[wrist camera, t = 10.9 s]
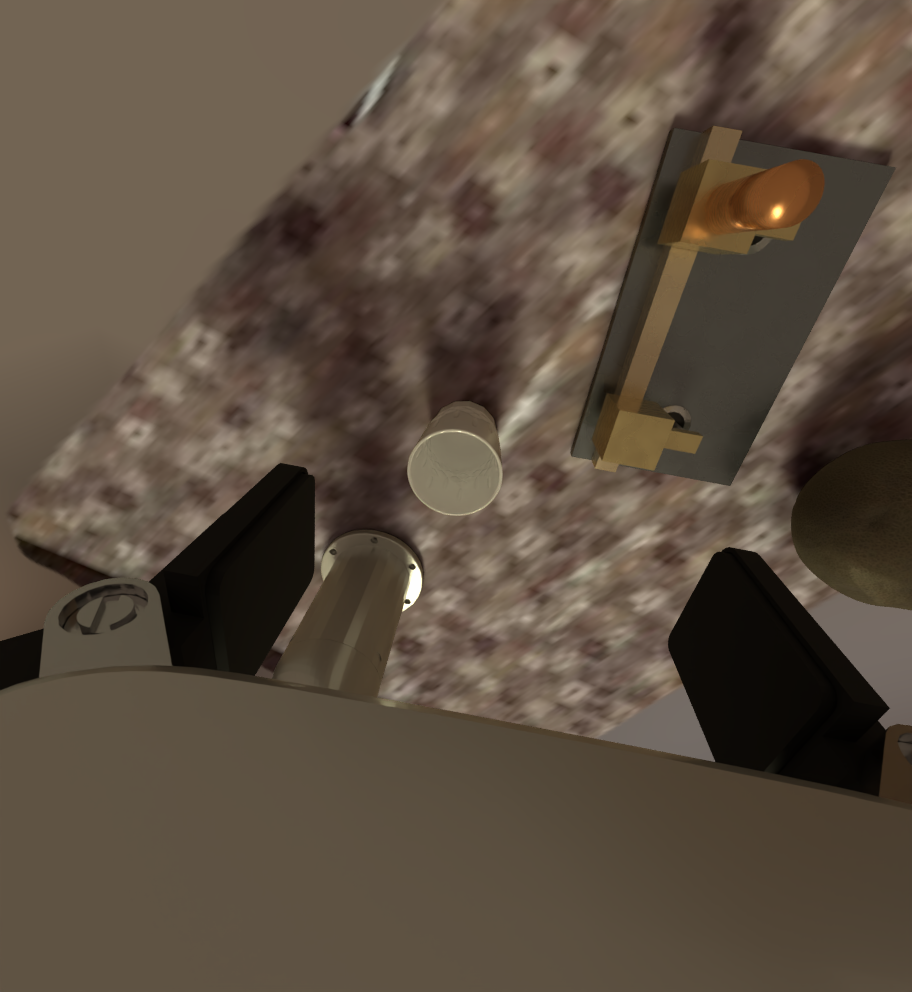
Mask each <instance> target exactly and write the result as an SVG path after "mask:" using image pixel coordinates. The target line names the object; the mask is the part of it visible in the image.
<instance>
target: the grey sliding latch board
mask: <svg viewBox="0 0 912 992" xmlns="http://www.w3.org/2000/svg"><path fill="white" fill-rule="evenodd" d="M741 134H742V131H741V130H735V129H730V128H724V127H718V126H712V127H710V128H709V129H707V130H706V131H704V132H702V133H700V132H695V131H689V130H684V129H678V128H674V129H672V130H671V131H670V132H669V136H668V139H667V142H666V145H665V149H664V152H663V155H662V158H661V162H660V165H659V168H658V171H657V174H656V178H655V181H654V184H653V187H652V191H651V194H650V197H649V200H648V204H647V207H646V210H645V213H644V216H643V220H642V223H641V226H640V229H639V233H638V236H637V239H636V242H635V246H634V249H633V252H632V255H631V258H630V262H629V265H628V268H627V271H626V275H625V278H624V281H623V284H622V288H621V291H620V294H619V297H618V300H617V304H616V307H615V310H614V313H613V317H612V320H611V323H610V326H609V330H608V333H607V336H606V339H605V342H604V346H603V349H602V352H601V355H600V359H599V362H598V365H597V368H596V372H595V375H594V378H593V381H592V384H591V388H590V391H589V394H588V397H587V401H586V404H585V407H584V410H583V414H582V417H581V420H580V423H579V426H578V430H577V433H576V436H575V439H574V443H573V446H572V449H571V452H570V453H571V456H572V457H578V458H583V459H588V460H592V462H593V465H594V467H595V469H601V470H606V471H611V472H616V470H617V467H618V465H621V466H626V467H631V468H637V469H642V470H647V471H653V472H658V473H664V474H669V475H674V476H680V477H685V478H690V479H696V480H701V481H707V482H712V483H717V484H723V485H728V486H730V485H731V483H732V482H733V480H734V478H735V476H736V474H737V472H738V470H739V468H740V466H741V464H742V462H743V460H744V458H745V457H746V455H747V453H748V451H749V449H750V447H751V445H752V443H753V441H754V439H755V437H756V435H757V433H758V432H759V430H760V428H761V426H762V424H763V422H764V420H765V418H766V416H767V414H768V412H769V410H770V408H771V407H772V405H773V403H774V401H775V399H776V397H777V395H778V393H779V391H780V389H781V387H782V385H783V384H784V382H785V380H786V378H787V376H788V374H789V372H790V370H791V368H792V366H793V364H794V362H795V360H796V359H797V357H798V355H799V353H800V351H801V349H802V347H803V345H804V343H805V341H806V339H807V337H808V335H809V334H810V332H811V330H812V328H813V326H814V324H815V322H816V320H817V318H818V316H819V314H820V312H821V310H822V309H823V307H824V305H825V303H826V301H827V299H828V297H829V295H830V293H831V291H832V289H833V287H834V286H835V284H836V282H837V280H838V278H839V276H840V274H841V272H842V270H843V268H844V266H845V264H846V262H847V261H848V259H849V257H850V255H851V253H852V251H853V249H854V247H855V245H856V243H857V241H858V239H859V237H860V236H861V234H862V232H863V230H864V228H865V226H866V224H867V222H868V220H869V218H870V216H871V214H872V212H873V211H874V209H875V207H876V205H877V203H878V201H879V199H880V197H881V195H882V193H883V191H884V189H885V188H886V186H887V184H888V182H889V180H890V178H891V176H892V174H893V172H894V170H895V167H890V166H884V165H879V164H873V163H867V162H862V161H856V160H851V159H845V158H840V157H834V156H828V155H823V154H817V153H812V152H806V151H801V150H795V149H789V148H784V147H778V146H773V145H767V144H762V143H756V142H750V141H745V140H739V139H740V137H741ZM708 159H712V160H718V161H723V162H729V163H734V164H740V165H746V166H751V167H757V168H762V169H771V168H774V167H777V166H780V165H783V164H786V163H789V162H792V161H795V160H799V159H806V160H811V161H813V162H815V163H816V164H818V165H819V167H820V168H821V169H822V171H823V174H824V180H825V185H824V191H823V195H822V197H821V200H820V202H819V204H818V205H817V207H816V208H815V210H814V211H813V212H812V213H811V214H810V215H809V216H808V217H807V218H806V219H805V220H803V221H802V222H801V224H800V226H799V229H798V231H797V233H796V235H795V237H794V239H793V241H782V240H776V239H771V238H765V237H760V236H754V239H753V241H752V243H751V246H750V248H749V251H748V253H747V254H710V253H705V252H699V251H694V250H688V249H683V248H677V247H672V246H666V245H661V244H657V243H658V240H659V237H660V234H661V231H662V228H663V225H664V221H665V218H666V215H667V212H668V209H669V206H670V203H671V200H672V197H673V194H674V191H675V188H676V185H677V182H678V179H679V176H680V173H681V172H683V171H685V170H687V169H689V168H691V167H694V166H696V165H698V164H700V163H702V162H704V161H706V160H708Z"/></svg>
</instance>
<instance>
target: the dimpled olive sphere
mask: <svg viewBox="0 0 912 992" xmlns="http://www.w3.org/2000/svg"><path fill="white" fill-rule="evenodd" d="M791 532H792V539H793V543H794V546H795V549H796V551H797V554H798V555H799V557H800V559H801V560H802V562H803V563H804V564H805V565H806V566H807V568H808V569H809V570H810V571H811V572H812V573H813V574H815V575H816V576H817V577H818V578H819V579H821V580H822V581H823V582H825V583H826V584H827V585H829V586H830V587H831V588H833V589H835V590H837V591H838V592H840V593H842V594H844V595H846V596H848V597H850V598H852V599H855V600H857V601H860V602H863V603H867V604H870V605H876V606H884V607H895V608H901V609H907V610H912V440H893V441H886V442H877V443H871V444H868V445H864V446H861V447H858V448H856V449H854V450H851V451H849V452H847V453H845V454H843V455H842V456H840V457H839V458H837V459H835V460H834V461H832V462H830V463H829V464H827V465H826V466H824V467H823V468H822V469H821V470H820V471H819V472H817V473H816V474H815V475H814V476H813V477H812V478H811V479H810V480H809V481H808V482H807V483H806V485H805V486H804V487H803V489H802V490H801V492H800V494H799V495H798V497H797V500H796V502H795V505H794V507H793V510H792V517H791Z"/></svg>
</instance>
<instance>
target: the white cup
mask: <svg viewBox="0 0 912 992" xmlns="http://www.w3.org/2000/svg"><path fill="white" fill-rule="evenodd" d="M407 474H408V480H409V483H410V486H411V488H412V490H413V492H414V493H415V495H416V496H417V497H418V498H419V500H420V501H421V502H423V503H424V504H425V505H426V506H428V507H429V508H431V509H433V510H435V511H437V512H440V513H443V514H447V515H467V514H471V513H474V512H477V511H479V510H481V509H483V508H484V507H486V506H487V505H488V504H489V503H490V502H491V501H492V500H493V499H494V498H495V497H496V495H497V493H498V491H499V489H500V487H501V483H502V476H503V472H502V461H501V449H500V443H499V436H498V432H497V429H496V425H495V421H494V418H493V417H492V416H491V415H490V413H489V412H488V411H487V410H486V409H485V408H484V407H482V406H480V405H478V404H476V403H473V402H471V401H456V402H453V403H451V404H449V405H447V406H445V407H443V408H441V410H440V411H439V413H438V414H437V415H436V417H435V418H434V419H433V420H432V421H431V422H430V424H429V425H428V426H427V428H426V429H425V431H424V433H423V434H422V436H421V438H420V439H419V441H418V443H417V444H416V446H415V447H414V449H413V451H412V453H411V455H410V457H409V461H408V467H407Z"/></svg>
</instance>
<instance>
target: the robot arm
mask: <svg viewBox="0 0 912 992" xmlns="http://www.w3.org/2000/svg"><path fill="white" fill-rule="evenodd" d="M314 553H315V479H314V476H313V475H308V472H307V469H306V468H304V467H299V466H294V465H288V464H283V463H280V464H278V465H277V466H276V467H275V468H274V469H272V470H271V471H270V472H269V473H268V474H267V475H266V476H265V477H264V478H263V479H262V480H260V481H259V482H258V483H257V484H256V485H255V486H254V487H253V488H252V489H251V490H250V491H248V492H247V493H246V494H245V495H244V496H243V497H242V498H241V499H240V500H239V501H238V502H236V503H235V504H234V505H233V506H232V507H231V508H230V509H229V510H228V511H227V512H226V513H224V514H223V515H221V516H220V517H219V518H218V519H217V520H216V521H215V522H214V523H213V524H212V525H211V526H209V527H208V528H207V529H206V530H205V531H204V532H203V533H202V534H201V535H200V536H199V537H197V538H196V539H195V540H194V541H193V542H192V543H191V544H190V545H189V546H188V547H186V548H185V549H184V550H183V551H182V552H181V553H180V554H179V555H178V556H177V557H176V558H174V559H173V560H172V561H171V562H170V563H169V564H168V565H167V566H166V567H165V568H164V569H162V570H161V571H160V572H159V573H158V574H157V575H156V576H155V577H154V578H153V579H151V580H150V581H149V582H148V581H145V580H141V579H137V578H113V579H106V580H102V581H98V582H95V583H91V584H88V585H85V586H83V587H81V588H79V589H77V590H75V591H73V592H71V593H69V594H68V595H66V596H65V597H63V598H62V599H60V600H59V601H58V602H57V603H56V604H55V605H54V606H53V607H52V609H50V611H49V612H48V614H47V617H46V620H45V622H44V629H41V630H38V631H34V632H30V633H27V634H23V635H20V636H17V637H13V638H10V639H6V640H3V641H0V992H912V726H910V725H901V724H896V725H893V726H890V727H888V729H886V730H885V729H884V728H883V726H882V725H881V724H880V723H879V722H878V720H879V719H880V718H881V717H882V716H883V714H884V713H886V712H887V711H888V710H889V707H888V706H887V704H886V703H885V702H884V701H883V700H882V698H881V697H880V696H879V695H878V694H877V693H876V692H875V691H874V689H873V688H872V687H871V686H870V685H869V684H868V682H867V681H866V680H865V679H864V677H863V676H862V675H861V674H860V673H859V671H858V670H857V669H856V668H855V667H854V666H853V664H852V663H851V662H850V661H849V660H848V659H847V657H846V656H845V655H844V654H843V653H842V652H841V650H840V649H839V648H838V647H837V646H836V644H835V643H834V642H833V641H832V640H831V639H830V637H829V636H828V635H827V634H826V633H825V632H824V630H823V629H822V628H821V627H820V626H819V625H818V623H817V622H816V621H815V620H814V619H813V617H812V616H811V615H810V614H809V613H808V612H807V610H806V609H805V608H804V607H803V606H802V605H801V603H800V602H799V601H798V600H797V599H796V598H795V596H794V595H793V594H792V593H791V592H790V591H789V589H788V588H787V587H786V586H785V585H784V583H783V582H782V581H781V580H780V579H779V578H778V576H777V575H776V574H775V573H774V572H773V571H772V569H771V568H770V567H769V566H768V565H767V564H766V562H765V561H764V560H763V559H762V558H761V556H760V555H759V554H757V553H756V552H752V551H747V550H741V549H736V548H731V547H728V548H725V549H724V550H722V552H717V553H715V554H714V555H713V557H712V558H711V560H710V562H709V564H708V566H707V568H706V569H705V571H704V573H703V575H702V577H701V578H700V580H699V582H698V584H697V586H696V588H695V589H694V591H693V593H692V595H691V597H690V599H689V600H688V602H687V604H686V606H685V608H684V610H683V611H682V613H681V615H680V617H679V619H678V621H677V622H676V624H675V626H674V628H673V630H672V632H671V633H670V636H669V640H668V648H669V651H670V654H671V656H672V659H673V661H674V663H675V666H676V668H677V671H678V673H679V675H680V678H681V680H682V683H683V685H684V687H685V690H686V692H687V695H688V697H689V699H690V702H691V704H692V706H693V709H694V711H695V713H696V716H697V719H698V721H699V723H700V726H701V728H702V731H703V733H704V735H705V738H706V740H707V742H708V745H709V747H710V750H711V752H712V755H713V757H714V759H715V762H711V761H706V760H702V759H696V758H691V757H686V756H681V755H676V754H671V753H666V752H661V751H656V750H651V749H646V748H641V747H636V746H630V745H625V744H620V743H615V742H609V741H605V740H599V739H594V738H589V737H584V736H579V735H574V734H568V733H563V732H558V731H553V730H548V729H542V728H537V727H532V726H527V725H521V724H516V723H511V722H506V721H500V720H495V719H490V718H485V717H479V716H474V715H469V714H464V713H458V712H453V711H447V710H442V709H437V708H431V707H426V706H421V705H415V704H410V703H404V702H399V701H394V700H388V699H383V698H378V697H377V696H378V693H379V689H380V685H381V682H382V678H383V675H384V671H385V668H386V664H387V661H388V657H389V654H390V651H391V647H392V644H393V640H394V637H395V633H396V630H397V626H398V623H399V620H400V616H401V613H402V611H404V610H406V609H407V608H409V607H410V606H411V605H412V604H413V603H414V602H415V601H416V600H417V598H418V597H419V595H420V593H421V589H422V586H423V580H424V576H423V569H422V566H421V563H420V561H419V559H418V557H417V555H416V554H415V553H414V552H413V551H412V549H411V548H410V547H409V546H407V545H406V544H405V543H404V542H403V541H401V540H399V539H398V538H396V537H394V536H392V535H389V534H387V533H384V532H380V531H376V530H354V531H351V532H348V533H345V534H343V535H341V536H339V537H337V538H336V539H335V540H334V541H333V542H331V544H330V545H329V547H328V548H327V549H326V551H325V553H324V555H323V557H322V561H321V574H322V579H323V581H324V582H323V584H322V585H321V587H320V589H319V591H318V592H317V594H316V596H315V598H314V600H313V601H312V603H311V605H310V607H309V609H308V610H307V612H306V614H305V616H304V617H303V619H302V621H301V623H300V625H299V626H298V628H297V630H296V632H295V634H294V635H293V637H292V639H291V641H290V642H289V644H288V646H287V648H286V650H285V652H284V653H283V655H282V657H281V659H280V661H279V662H278V664H277V666H276V668H275V671H274V674H273V677H272V679H269V678H264V677H257V676H255V674H256V673H257V671H258V669H259V668H260V666H261V664H262V663H263V661H264V659H265V658H266V656H267V654H268V653H269V651H270V649H271V648H272V646H273V644H274V643H275V641H276V639H277V637H278V636H279V634H280V632H281V631H282V629H283V627H284V626H285V624H286V622H287V621H288V619H289V617H290V616H291V614H292V612H293V611H294V609H295V607H296V606H297V604H298V602H299V601H300V599H301V597H302V596H303V594H304V592H305V591H306V589H307V587H308V586H309V584H310V582H311V580H312V577H313V573H314Z"/></svg>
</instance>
